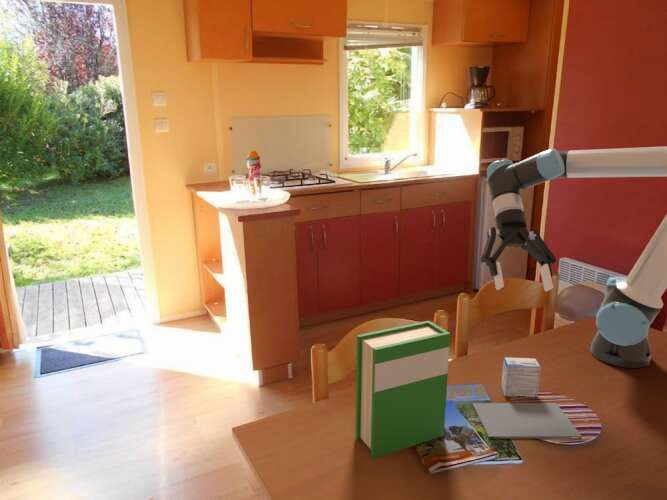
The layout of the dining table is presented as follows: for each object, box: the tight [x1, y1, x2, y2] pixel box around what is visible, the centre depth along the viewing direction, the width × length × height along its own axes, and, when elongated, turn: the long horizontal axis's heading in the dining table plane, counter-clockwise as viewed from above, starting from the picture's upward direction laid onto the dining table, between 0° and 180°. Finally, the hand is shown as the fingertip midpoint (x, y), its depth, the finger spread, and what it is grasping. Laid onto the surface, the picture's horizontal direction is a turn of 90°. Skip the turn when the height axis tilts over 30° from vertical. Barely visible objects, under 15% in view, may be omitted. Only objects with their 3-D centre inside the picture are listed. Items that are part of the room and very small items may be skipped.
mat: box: [472, 402, 583, 439], centre depth 118 cm, size 20×13×1 cm, turn 90°
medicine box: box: [500, 356, 542, 398], centre depth 128 cm, size 8×4×9 cm, turn 84°
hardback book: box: [354, 320, 451, 460], centre depth 109 cm, size 18×7×24 cm, turn 116°
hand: (524, 288), depth 130 cm, fingers open, 13 cm apart
